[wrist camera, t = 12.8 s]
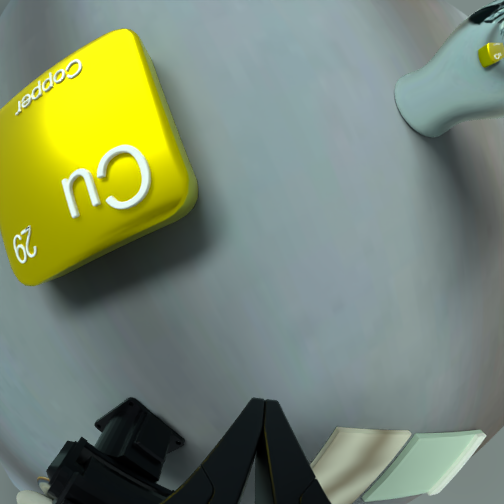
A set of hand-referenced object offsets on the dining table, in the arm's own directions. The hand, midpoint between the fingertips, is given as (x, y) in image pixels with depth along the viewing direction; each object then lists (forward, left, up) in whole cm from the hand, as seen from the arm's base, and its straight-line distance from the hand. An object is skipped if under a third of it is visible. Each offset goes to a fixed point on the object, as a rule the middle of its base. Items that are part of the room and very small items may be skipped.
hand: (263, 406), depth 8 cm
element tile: (-2, +16, -12) cm, 21 cm away
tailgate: (-2, -27, -12) cm, 30 cm away
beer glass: (+22, +3, -12) cm, 25 cm away
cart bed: (-5, -22, -12) cm, 25 cm away
